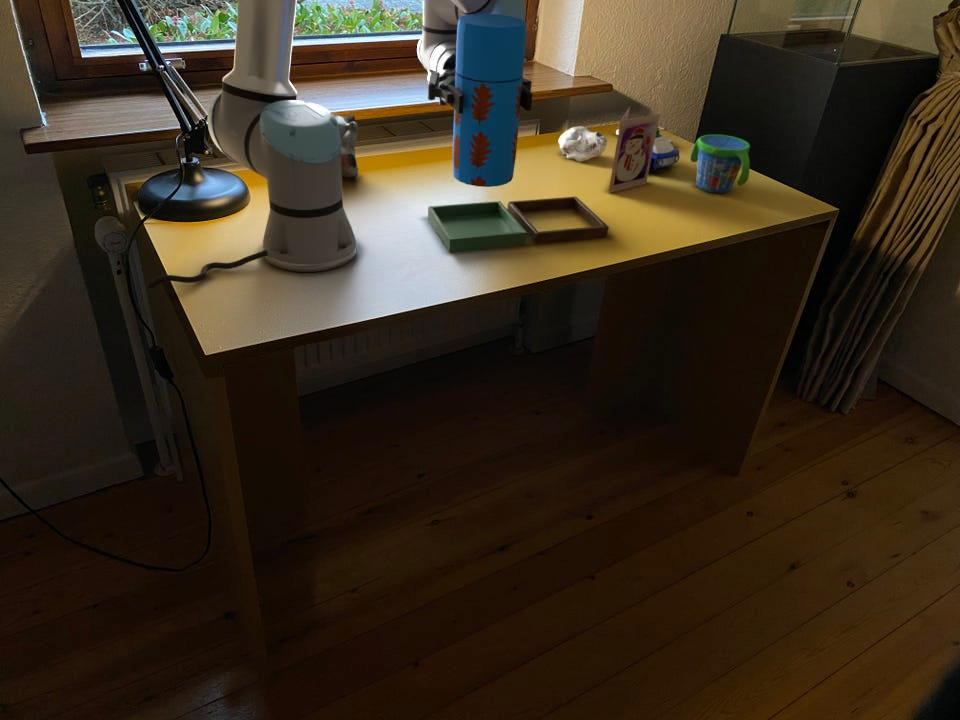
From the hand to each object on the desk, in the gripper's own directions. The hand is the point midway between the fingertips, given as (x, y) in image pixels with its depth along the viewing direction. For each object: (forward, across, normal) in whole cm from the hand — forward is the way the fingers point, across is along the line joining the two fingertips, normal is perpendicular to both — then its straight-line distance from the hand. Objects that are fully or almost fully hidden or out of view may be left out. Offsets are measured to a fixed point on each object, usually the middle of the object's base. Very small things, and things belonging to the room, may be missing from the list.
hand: (495, 103), depth 117 cm
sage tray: (-4, +1, -24) cm, 24 cm away
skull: (-37, -35, -24) cm, 57 cm away
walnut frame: (-4, -15, -24) cm, 29 cm away
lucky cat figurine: (-36, +23, -24) cm, 49 cm away
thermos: (-4, 0, -14) cm, 14 cm away
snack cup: (-15, -57, -24) cm, 64 cm away
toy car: (-30, -49, -24) cm, 63 cm away
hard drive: (-46, -57, -24) cm, 77 cm away
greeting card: (-21, -37, -24) cm, 49 cm away
